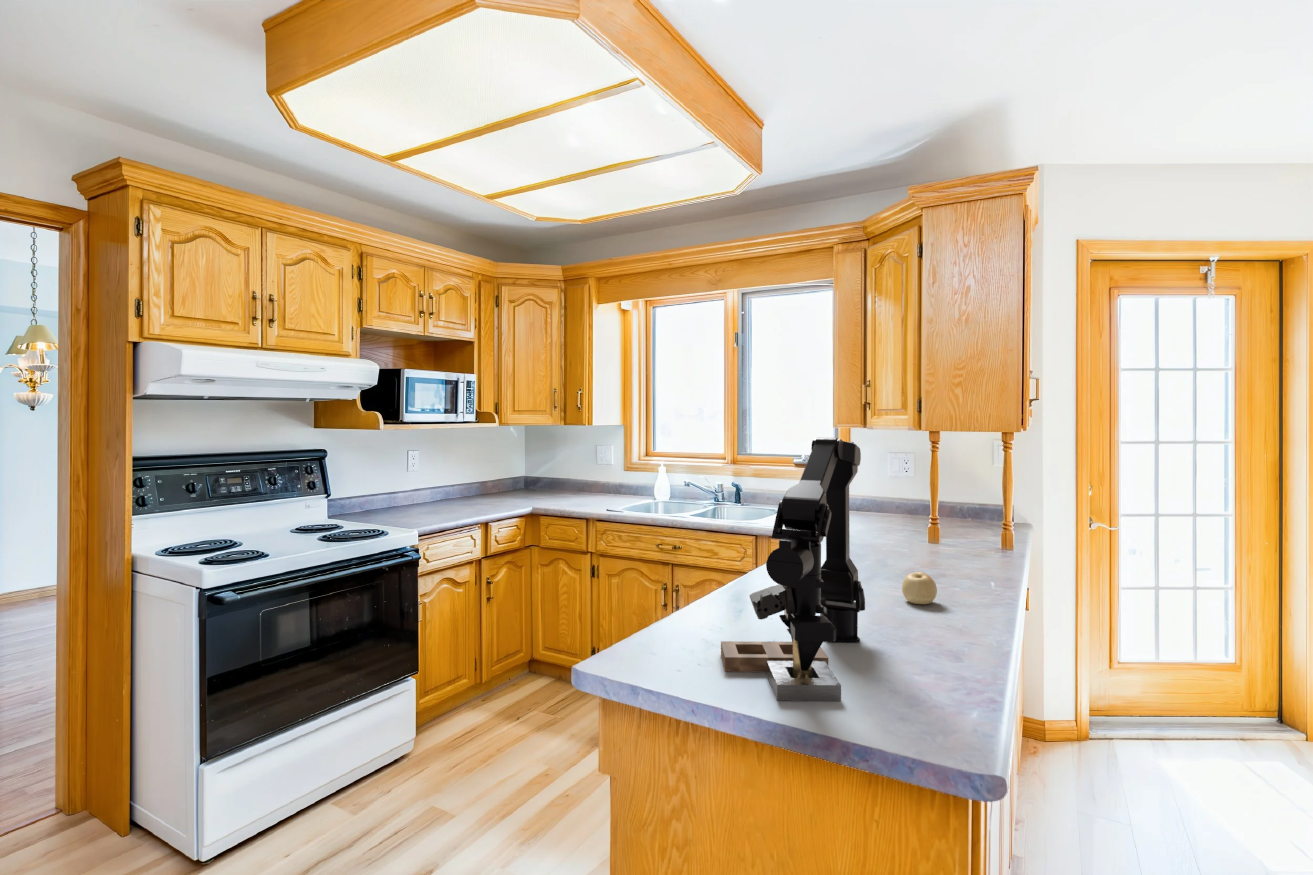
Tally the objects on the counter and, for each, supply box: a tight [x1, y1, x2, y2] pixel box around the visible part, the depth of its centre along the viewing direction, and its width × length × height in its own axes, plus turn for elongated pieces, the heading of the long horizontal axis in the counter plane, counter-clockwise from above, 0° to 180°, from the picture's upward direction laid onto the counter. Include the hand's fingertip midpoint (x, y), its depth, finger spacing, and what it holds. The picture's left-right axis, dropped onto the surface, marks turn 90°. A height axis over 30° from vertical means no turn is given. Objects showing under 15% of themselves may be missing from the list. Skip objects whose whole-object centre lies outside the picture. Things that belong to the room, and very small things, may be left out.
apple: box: [901, 571, 938, 605], centre depth 154 cm, size 8×8×8 cm
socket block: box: [766, 661, 842, 702], centre depth 105 cm, size 10×10×2 cm
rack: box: [720, 640, 829, 673], centre depth 115 cm, size 18×8×2 cm, turn 89°
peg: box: [793, 638, 812, 678], centre depth 105 cm, size 3×3×9 cm
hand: (802, 666), depth 105 cm, fingers closed on peg, 3 cm apart
